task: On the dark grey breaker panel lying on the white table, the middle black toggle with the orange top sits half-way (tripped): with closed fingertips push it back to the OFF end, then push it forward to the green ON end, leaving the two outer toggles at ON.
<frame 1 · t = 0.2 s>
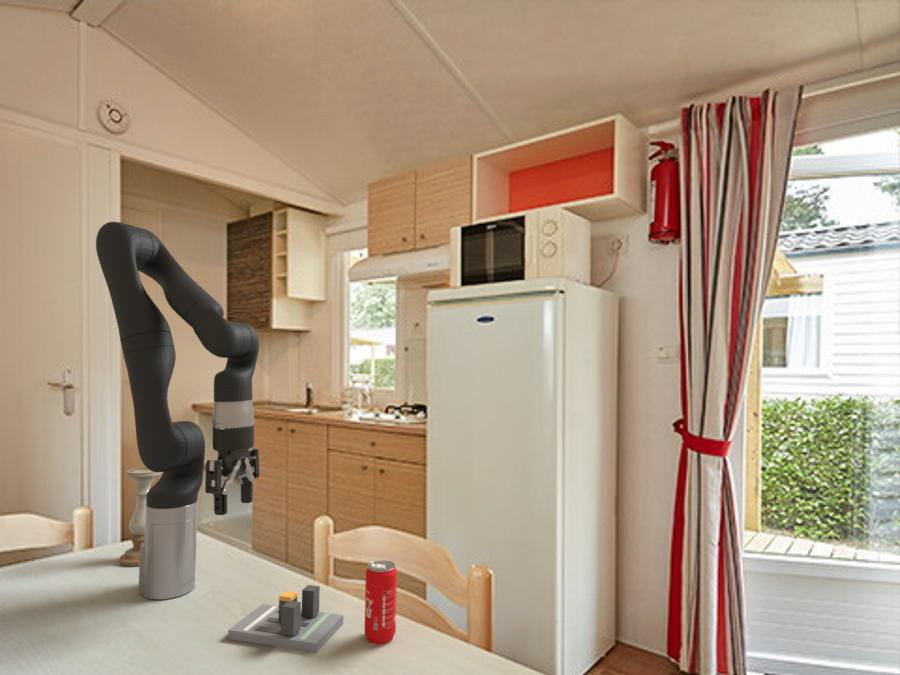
hand: (234, 508, 106), 17 cm above the table, tool pointing down, fingers open, 8 cm apart
breaker 3: (291, 618, 90), point 4 cm above the table, slide at 5.0 cm
candle holder: (141, 560, 125), on the table
beverage can: (379, 639, 92), on the table
breaker 1: (310, 601, 97), point 4 cm above the table, slide at 5.0 cm
panel: (287, 631, 94), on the table
breaker 2: (288, 607, 94), point 4 cm above the table, slide at 2.5 cm
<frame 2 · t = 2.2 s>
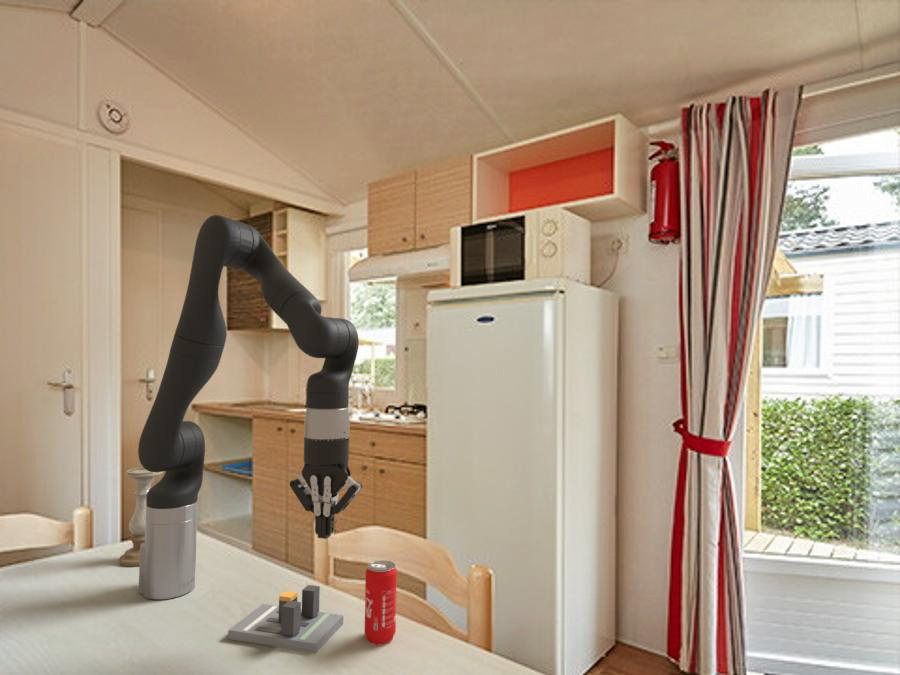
hand: (324, 537, 93), 17 cm above the table, tool pointing down, fingers closed
nothing on the table moved.
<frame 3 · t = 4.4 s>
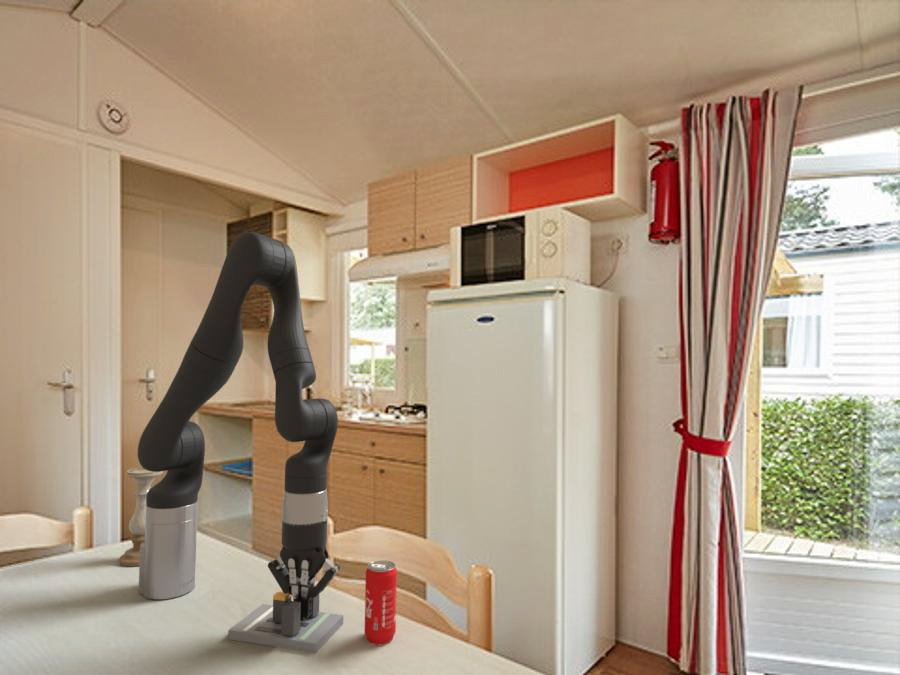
hand: (302, 618, 93), 2 cm above the table, tool pointing down, fingers closed
breaker 2: (282, 606, 94), point 4 cm above the table, slide at 1.4 cm, touching gripper
everything else where it was.
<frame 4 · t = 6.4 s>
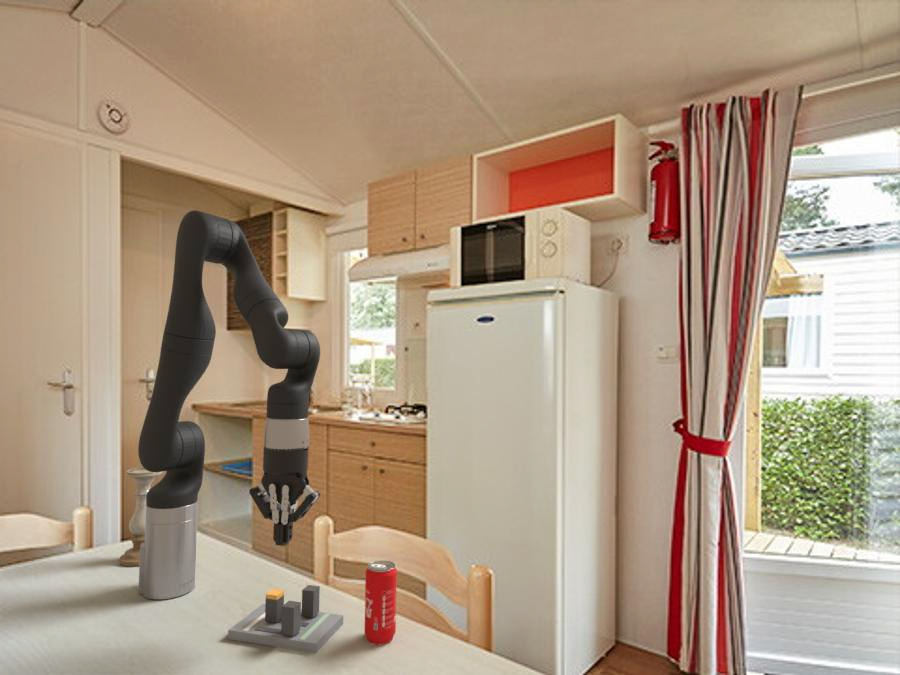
hand: (282, 544, 95), 15 cm above the table, tool pointing down, fingers closed
breaker 2: (274, 605, 95), point 4 cm above the table, slide at -0.1 cm
everything else where it was.
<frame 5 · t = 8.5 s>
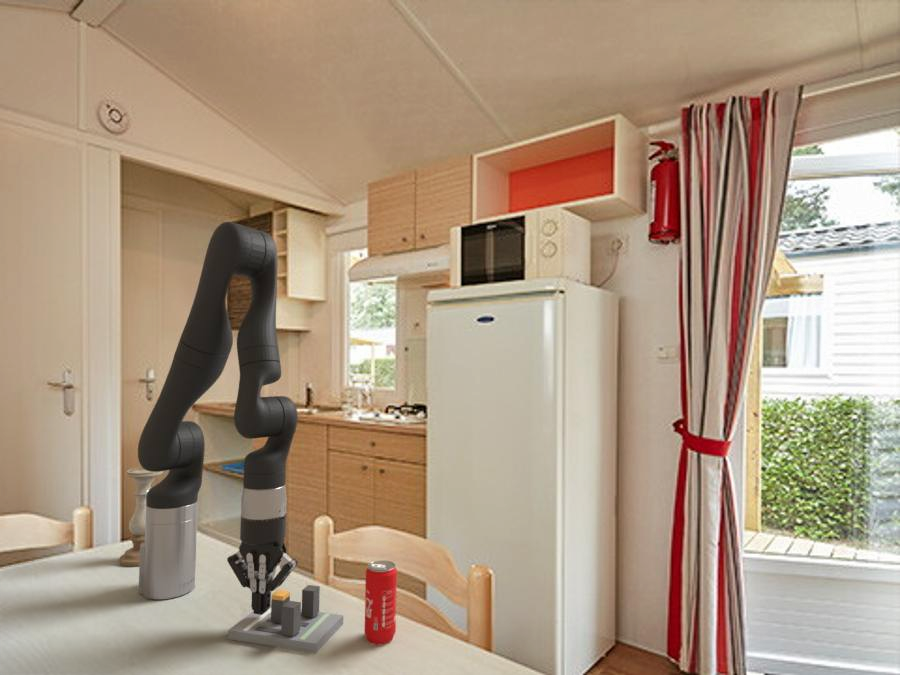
hand: (260, 612, 95), 3 cm above the table, tool pointing down, fingers closed
breaker 2: (280, 606, 94), point 4 cm above the table, slide at 1.1 cm, touching gripper
everything else where it was.
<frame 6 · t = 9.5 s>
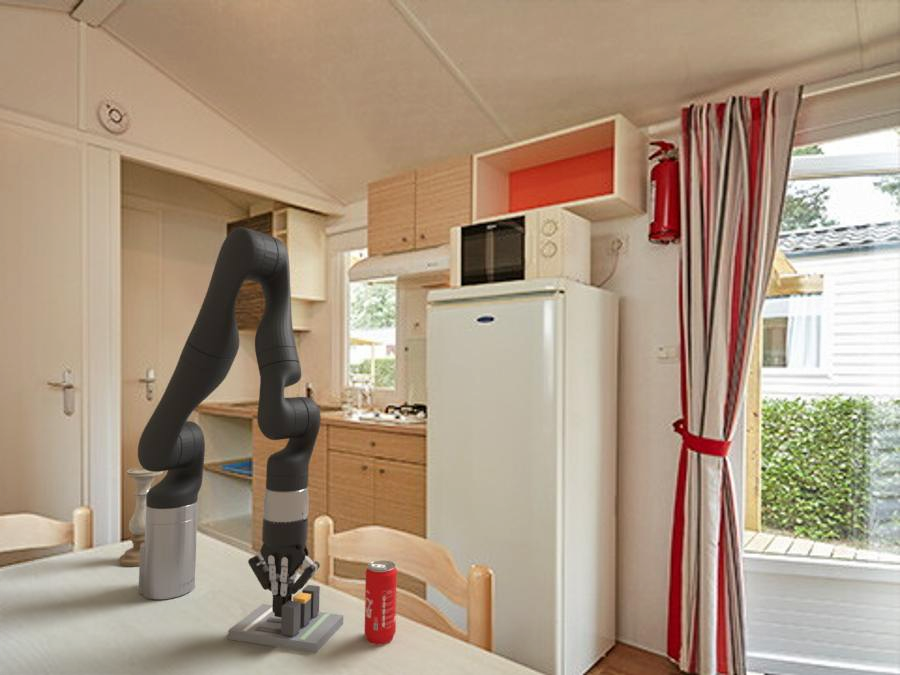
hand: (281, 615, 94), 3 cm above the table, tool pointing down, fingers closed
breaker 2: (301, 609, 93), point 4 cm above the table, slide at 5.1 cm, touching gripper
everything else where it was.
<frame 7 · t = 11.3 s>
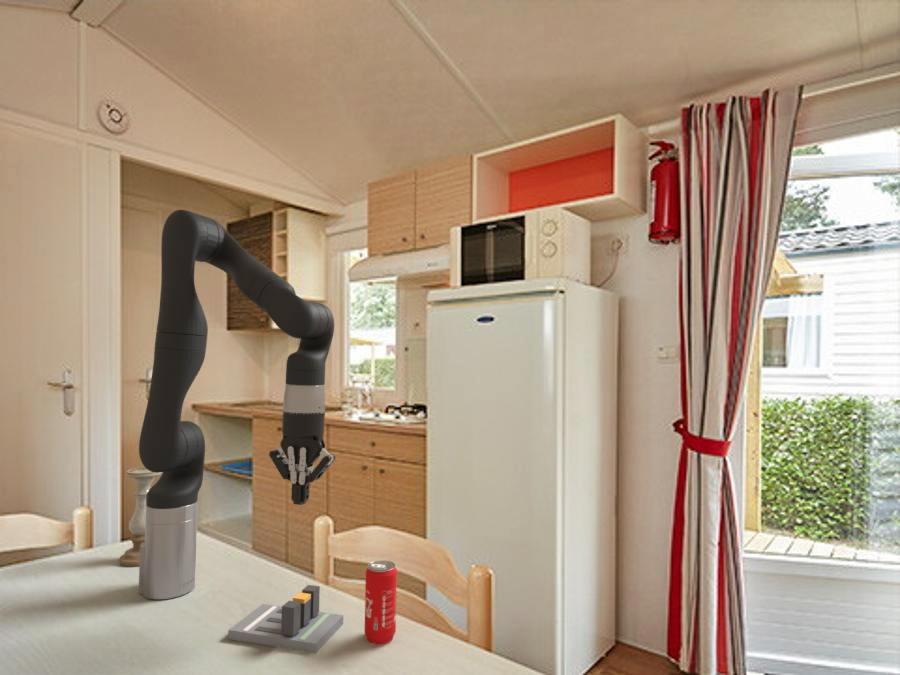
hand: (300, 503, 101), 20 cm above the table, tool pointing down, fingers closed
breaker 2: (301, 609, 93), point 4 cm above the table, slide at 5.1 cm
everything else where it was.
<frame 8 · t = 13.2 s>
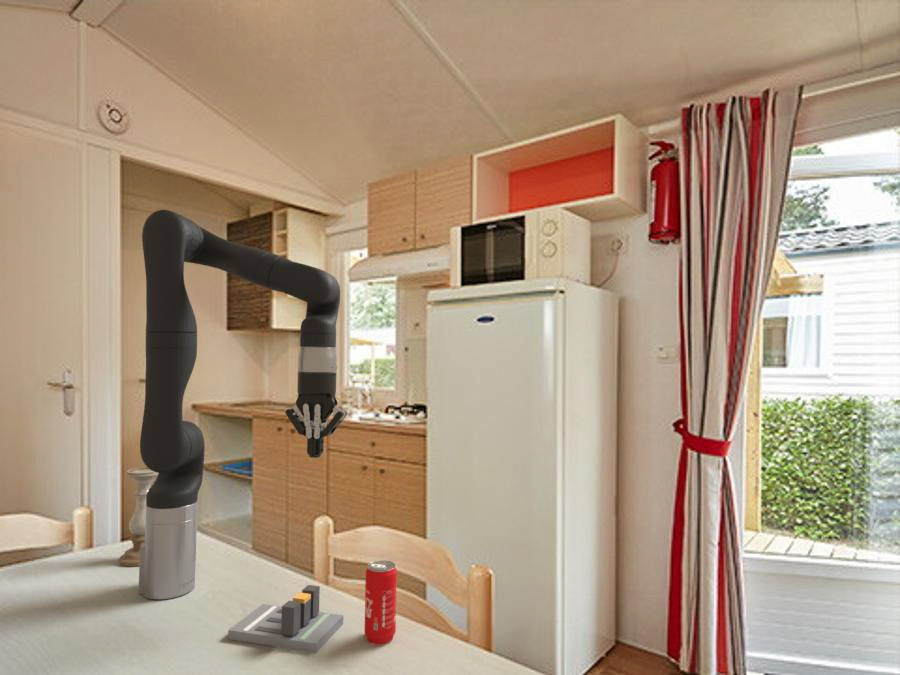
hand: (315, 456, 109), 27 cm above the table, tool pointing down, fingers closed
nothing on the table moved.
at the end: breaker 2 slide at 5.1 cm; breaker 1 slide at 5.0 cm; breaker 3 slide at 5.0 cm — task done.
